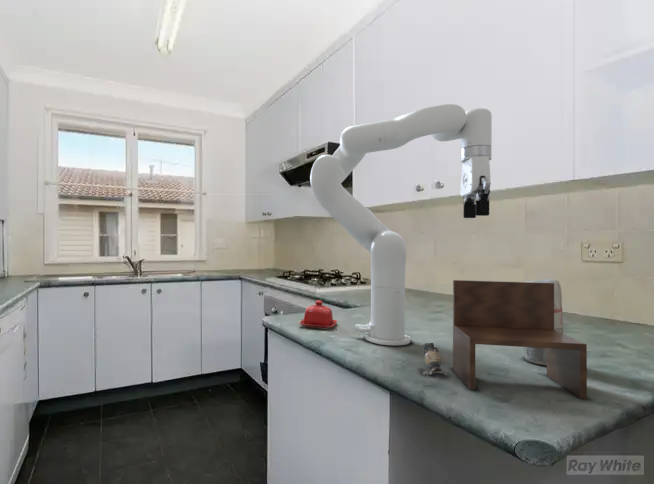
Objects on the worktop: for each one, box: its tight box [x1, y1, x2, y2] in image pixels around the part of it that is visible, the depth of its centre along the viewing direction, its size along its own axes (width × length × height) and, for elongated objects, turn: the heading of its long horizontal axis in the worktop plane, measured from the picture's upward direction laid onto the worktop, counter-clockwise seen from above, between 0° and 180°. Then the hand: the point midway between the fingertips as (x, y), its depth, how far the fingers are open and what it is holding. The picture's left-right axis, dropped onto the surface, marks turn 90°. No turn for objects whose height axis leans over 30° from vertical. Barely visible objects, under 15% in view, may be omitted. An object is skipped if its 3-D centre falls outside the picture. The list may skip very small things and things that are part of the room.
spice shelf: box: [452, 279, 588, 399], centre depth 76 cm, size 20×12×20 cm, turn 79°
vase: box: [422, 342, 449, 376], centre depth 82 cm, size 5×5×6 cm
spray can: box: [523, 278, 564, 366], centre depth 90 cm, size 8×8×20 cm
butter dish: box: [298, 299, 338, 330], centre depth 125 cm, size 12×12×8 cm
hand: (475, 216), depth 103 cm, fingers open, 9 cm apart
